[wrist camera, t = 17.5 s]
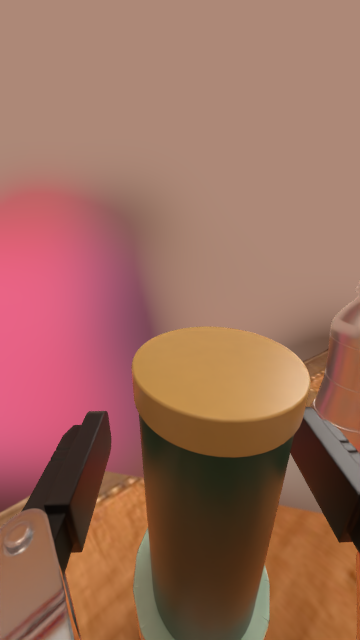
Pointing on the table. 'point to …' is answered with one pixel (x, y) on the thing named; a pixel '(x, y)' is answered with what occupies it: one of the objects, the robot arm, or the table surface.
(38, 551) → the robot arm
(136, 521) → the table surface
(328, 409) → the plastic bottle
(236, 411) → the tea tin
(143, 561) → the vase
